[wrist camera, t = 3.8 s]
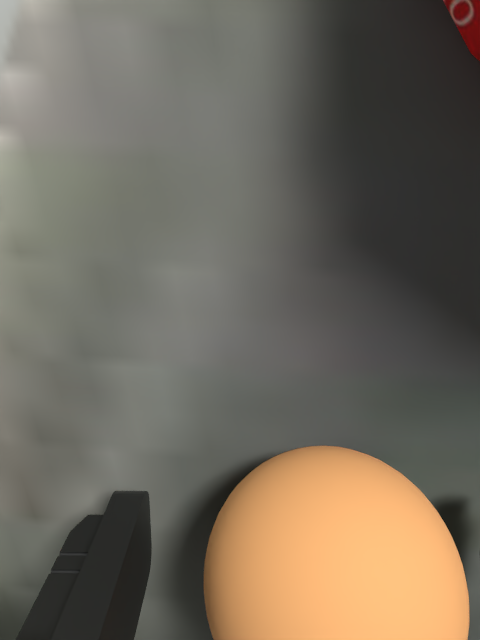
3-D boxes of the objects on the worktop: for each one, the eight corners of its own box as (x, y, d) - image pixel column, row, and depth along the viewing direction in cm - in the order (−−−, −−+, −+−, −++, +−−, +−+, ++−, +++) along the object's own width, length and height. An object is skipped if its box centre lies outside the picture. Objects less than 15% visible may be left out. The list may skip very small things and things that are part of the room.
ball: (210, 404, 11) (188, 577, 6) (419, 406, 11) (570, 579, 6) (211, 573, 12) (193, 829, 7) (396, 574, 12) (504, 830, 7)
